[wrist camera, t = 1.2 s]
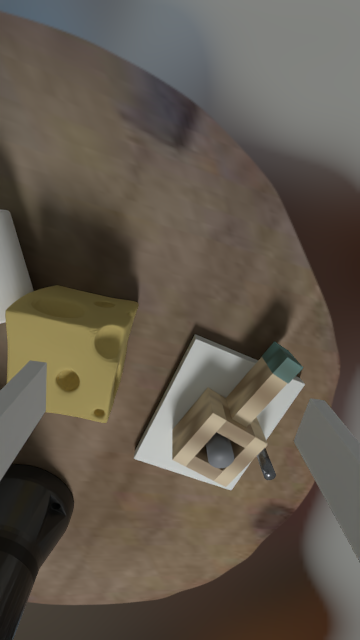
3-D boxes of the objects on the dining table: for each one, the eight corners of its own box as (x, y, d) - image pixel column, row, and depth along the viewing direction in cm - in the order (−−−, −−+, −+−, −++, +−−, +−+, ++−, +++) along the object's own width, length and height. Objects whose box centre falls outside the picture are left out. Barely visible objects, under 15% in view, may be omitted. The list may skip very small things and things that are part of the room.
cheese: (140, 299, 34) (128, 332, 24) (124, 377, 37) (107, 431, 28) (50, 279, 33) (1, 305, 23) (42, 361, 36) (-3, 411, 27)
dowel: (258, 446, 40) (271, 481, 35) (250, 443, 40) (262, 477, 34) (264, 439, 39) (277, 473, 34) (255, 436, 39) (267, 469, 34)
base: (229, 481, 44) (240, 532, 37) (135, 450, 41) (127, 498, 34) (300, 377, 38) (329, 414, 31) (194, 333, 35) (200, 363, 28)
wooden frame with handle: (219, 455, 40) (225, 487, 35) (172, 430, 38) (172, 459, 34) (305, 362, 35) (326, 385, 31) (256, 328, 34) (269, 347, 29)
